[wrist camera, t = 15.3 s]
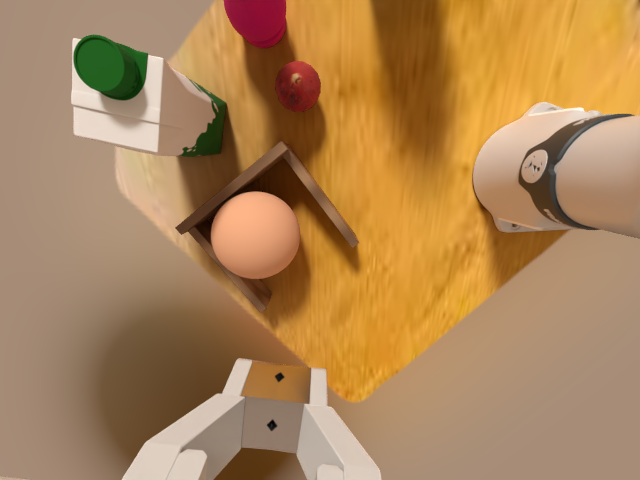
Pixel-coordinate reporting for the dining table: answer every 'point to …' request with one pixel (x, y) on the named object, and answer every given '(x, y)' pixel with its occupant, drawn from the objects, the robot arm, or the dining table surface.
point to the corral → (199, 219)
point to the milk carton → (141, 102)
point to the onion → (298, 86)
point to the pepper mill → (258, 20)
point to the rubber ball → (255, 235)
